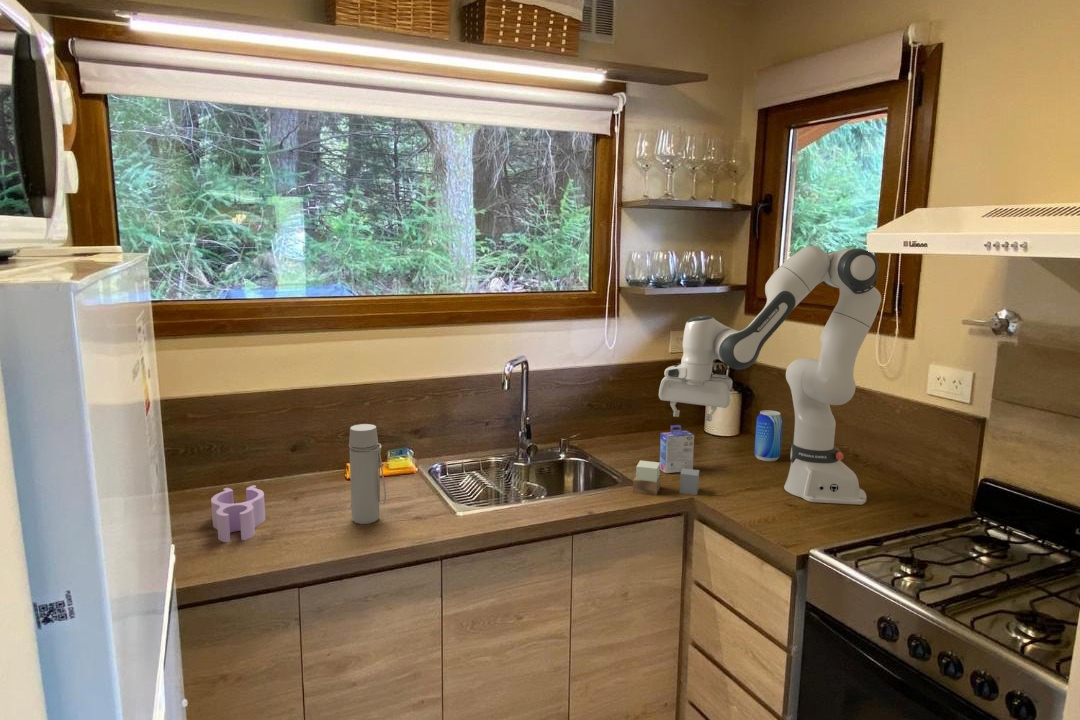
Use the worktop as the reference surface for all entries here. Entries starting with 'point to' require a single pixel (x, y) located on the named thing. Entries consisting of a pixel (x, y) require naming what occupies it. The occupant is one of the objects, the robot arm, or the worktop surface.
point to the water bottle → (365, 473)
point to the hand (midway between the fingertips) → (692, 418)
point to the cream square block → (648, 471)
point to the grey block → (689, 481)
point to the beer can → (768, 435)
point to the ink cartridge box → (676, 450)
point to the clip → (237, 513)
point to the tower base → (646, 486)
